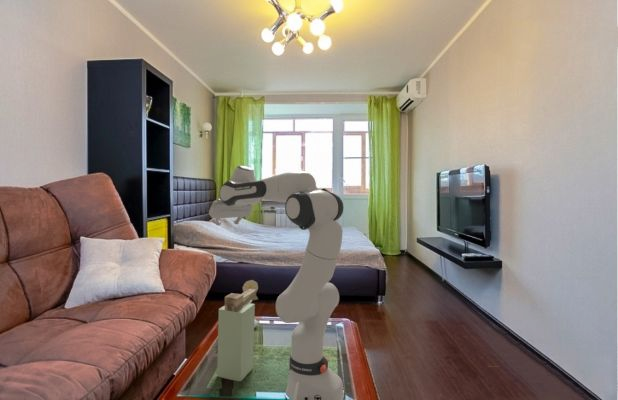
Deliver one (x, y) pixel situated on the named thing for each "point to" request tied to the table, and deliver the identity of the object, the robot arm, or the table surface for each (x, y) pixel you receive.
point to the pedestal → (235, 342)
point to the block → (238, 300)
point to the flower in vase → (251, 285)
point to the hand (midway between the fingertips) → (227, 224)
